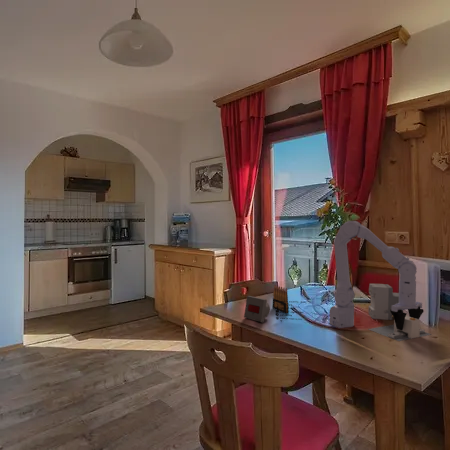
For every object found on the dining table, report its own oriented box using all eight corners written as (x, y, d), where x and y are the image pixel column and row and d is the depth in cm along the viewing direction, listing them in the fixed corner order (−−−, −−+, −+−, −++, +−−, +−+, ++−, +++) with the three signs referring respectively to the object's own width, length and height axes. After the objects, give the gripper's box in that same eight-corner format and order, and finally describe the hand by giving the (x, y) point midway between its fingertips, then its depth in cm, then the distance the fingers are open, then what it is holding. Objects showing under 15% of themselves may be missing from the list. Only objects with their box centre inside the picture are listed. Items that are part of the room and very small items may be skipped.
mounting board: (398, 343, 119) (398, 341, 119) (367, 331, 132) (367, 329, 132) (431, 336, 126) (431, 334, 126) (399, 325, 139) (399, 323, 139)
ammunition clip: (272, 308, 165) (272, 284, 165) (275, 307, 166) (275, 284, 166) (285, 313, 156) (285, 288, 155) (288, 313, 156) (289, 288, 156)
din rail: (393, 338, 122) (393, 335, 122) (387, 336, 124) (387, 333, 124) (424, 332, 129) (424, 329, 128) (418, 330, 131) (418, 327, 131)
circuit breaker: (407, 322, 143) (408, 288, 143) (372, 320, 146) (372, 286, 146) (401, 317, 150) (402, 284, 150) (368, 315, 153) (368, 283, 153)
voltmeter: (242, 322, 142) (243, 299, 142) (244, 315, 153) (245, 293, 153) (306, 325, 138) (306, 302, 138) (303, 317, 150) (303, 296, 150)
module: (411, 338, 122) (411, 320, 122) (394, 332, 129) (394, 314, 129) (419, 336, 124) (419, 318, 124) (401, 330, 131) (402, 313, 130)
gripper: (403, 296, 119) (402, 334, 120) (430, 293, 125) (429, 328, 125) (386, 292, 126) (386, 328, 126) (412, 289, 132) (412, 323, 132)
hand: (406, 328), depth 126 cm, fingers open, 7 cm apart
